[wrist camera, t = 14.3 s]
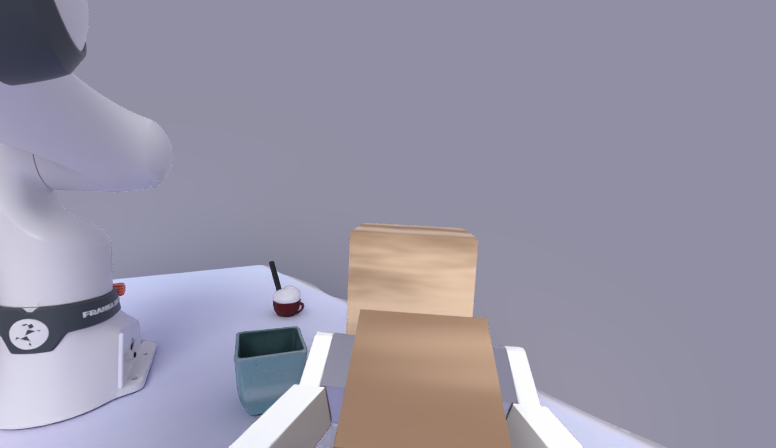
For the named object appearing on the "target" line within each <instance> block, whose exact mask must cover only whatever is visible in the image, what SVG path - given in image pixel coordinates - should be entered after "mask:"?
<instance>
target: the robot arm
mask: <svg viewBox="0 0 776 448" xmlns="http://www.w3.org/2000/svg"><path fill="white" fill-rule="evenodd" d="M88 26H89V12H88V4H87V0H0V429H23V428H31V427H37V426H42V425H47V424H51V423H55V422H59V421H62V420H66V419H69V418H72V417H75V416H78V415H80V414H83V413H85V412H88V411H90V410H93V409H95V408H97V407H99V406H101V405H103V404H105V403H107V402H109V401H111V400H113V399H115V398H117V397H121V396H124V395H127V394H130V393H133V392H135V391H138V390H140V389H141V388H143V387H144V384H145V381H146V378H147V375H148V373H149V370H150V367H151V364H152V361H153V358H154V355H155V352H156V348H157V347H156V343H155V342H152V341H146V340H140V324H139V321H138V320H137V319H135V318H133V317H131V316H129V315H128V314H126V313H124V312H123V311H121V310H120V309H121V306H120V302H119V301H120V298H119V296H123V295H124V293H125V290H124V289H125V288H126V287H125V285H124V283H117V284H113V277H112V276H113V275H112V242H111V239H110V237H109V236H108V234H107V233H106V232H105V231H104V230H103V229H102V228H101V227H99V226H98V225H96V224H94V223H92V222H90V221H88V220H85V219H83V218H80V217H77V216H75V215H72V214H70V213H69V212H68V211H67V210H66V209H64V207H63V206H62V205H61V203H60V202H59V200H58V197H57V194H56V190H76V191H102V192H123V191H133V190H141V189H148V188H155V187H157V186H158V185H159V184H161V183H162V182H163V181H164V180H165V178H166V177H167V176H168V174H169V172H170V170H171V167H172V164H173V149H172V146H171V142H170V140H169V138H168V136H167V135H166V133H165V132H164V130H163V129H162V128H161V127H160V126H159V125H158V124H157V123H156V122H155V121H153V120H150V119H148V118H145V117H142V116H140V115H138V114H135V113H133V112H131V111H129V110H127V109H124V108H123V107H121V106H119V105H117V104H115V103H114V102H112V101H110V100H109V99H107V98H105V97H104V96H103V95H101V94H99V93H98V92H97V91H95V90H94V89H92V88H91V87H90V86H88V85H87V84H85V83H84V82H83V81H81V80H80V79H79V78H78V77H77V76H75V75H74V74H73V73H72V72H73V71H74V69H75V68H76V67H77V66H78V65H79V63H80V62H81V61H82V60H83V59H84V57H85V56H86V38H87V33H88ZM354 339H355V335H351V334H340V333H331V332H317V333H316V335H315V337H314V339H313V343H312V346H311V349H310V352H309V355H308V358H307V362H306V365H305V368H304V371H303V374H302V377H301V381H300V384H299V385H296V384H294V385H293V386H292V387H291V388H290V389H289V390H288V391H287V392H286V393H285V394H284V395H282V396H281V397H280V398H279V399H278V400H277V401H276V402H275V403H274V404H273V405H272V406H271V407H270V408H269V409H268V410H267V411H266V412H265V413H264V414H263V415H262V416H261V417H260V418H259V419H257V420H256V421H255V422H254V423H253V424H252V425H251V426H250V427H249V428H248V429H247V430H246V431H245V432H244V433H243V434H242V435H241V436H240V437H239V438H238V439H237V440H236V441H235V442H233V443H232V444H231V445H230V446H229V447H228V448H314V447H315V446H316V445H317V443H318V442H319V441H320V439H321V438H322V437H323V435H324V434H325V433H326V431H327V430H328V429H329V427H330V426H331V423H338V422H339V417H340V412H341V406H342V401H343V396H344V391H345V386H346V381H347V375H348V370H349V365H350V360H351V355H352V349H353V344H354ZM492 348H493V353H494V359H495V364H496V369H497V374H498V380H499V385H500V390H501V395H502V400H503V406H504V411H505V416H506V421H507V427H508V432H509V437H510V442H511V448H584V447H583V446H582V445H581V444H580V443H579V442H578V441H577V440H576V439H575V437H574V436H573V435H572V434H571V433H570V432H569V431H568V430H567V429H566V427H565V426H564V425H563V424H562V423H561V422H560V421H559V420H558V419H557V417H556V416H555V415H554V414H553V413H552V412H551V411H550V410H549V409H548V407H546V406H541V404H540V401H539V397H538V394H537V390H536V387H535V383H534V380H533V376H532V373H531V369H530V366H529V362H528V359H527V356H526V352H525V350H524V349H523V348H522V347H510V346H503V345H492Z"/></svg>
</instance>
